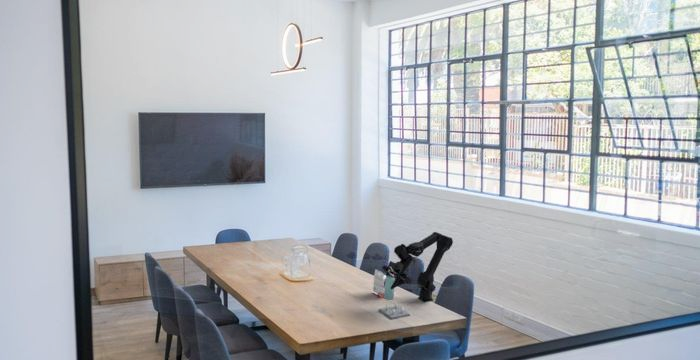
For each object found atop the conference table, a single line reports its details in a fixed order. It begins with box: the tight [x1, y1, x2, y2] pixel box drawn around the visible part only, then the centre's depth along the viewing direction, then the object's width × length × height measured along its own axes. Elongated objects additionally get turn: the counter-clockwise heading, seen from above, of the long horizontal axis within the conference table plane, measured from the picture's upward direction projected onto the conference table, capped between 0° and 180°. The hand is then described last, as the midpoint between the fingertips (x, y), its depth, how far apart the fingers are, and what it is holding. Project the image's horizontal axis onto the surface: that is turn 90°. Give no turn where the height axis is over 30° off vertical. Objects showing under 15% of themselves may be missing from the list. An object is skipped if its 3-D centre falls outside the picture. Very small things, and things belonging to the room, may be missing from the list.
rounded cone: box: [383, 275, 396, 301], centre depth 334 cm, size 5×5×12 cm
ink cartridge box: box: [372, 268, 386, 299], centre depth 355 cm, size 9×5×15 cm, turn 37°
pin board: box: [378, 303, 411, 320], centre depth 333 cm, size 12×12×4 cm
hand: (387, 287), depth 333 cm, fingers closed on rounded cone, 5 cm apart
